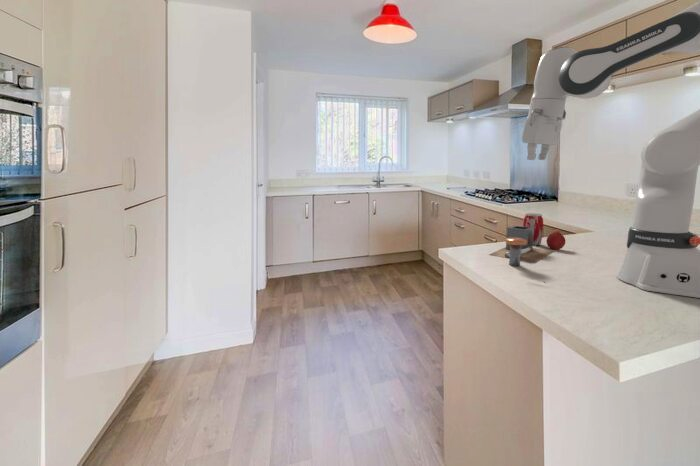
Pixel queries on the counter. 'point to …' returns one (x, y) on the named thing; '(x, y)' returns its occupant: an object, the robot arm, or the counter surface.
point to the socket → (521, 235)
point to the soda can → (534, 226)
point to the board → (525, 254)
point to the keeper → (521, 252)
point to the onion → (556, 240)
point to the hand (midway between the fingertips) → (536, 160)
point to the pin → (515, 250)
